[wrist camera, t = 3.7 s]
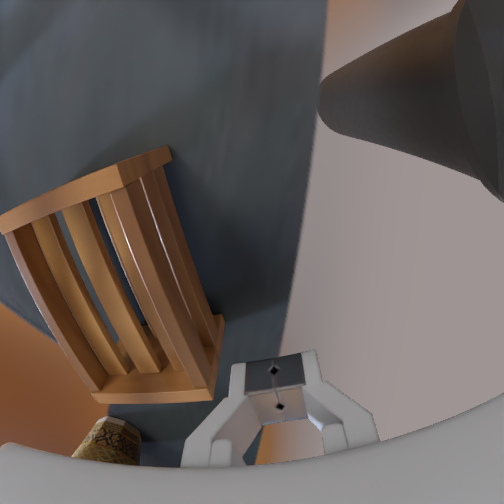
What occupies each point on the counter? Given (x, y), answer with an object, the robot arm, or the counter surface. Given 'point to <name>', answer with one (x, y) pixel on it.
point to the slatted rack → (111, 290)
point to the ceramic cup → (111, 443)
